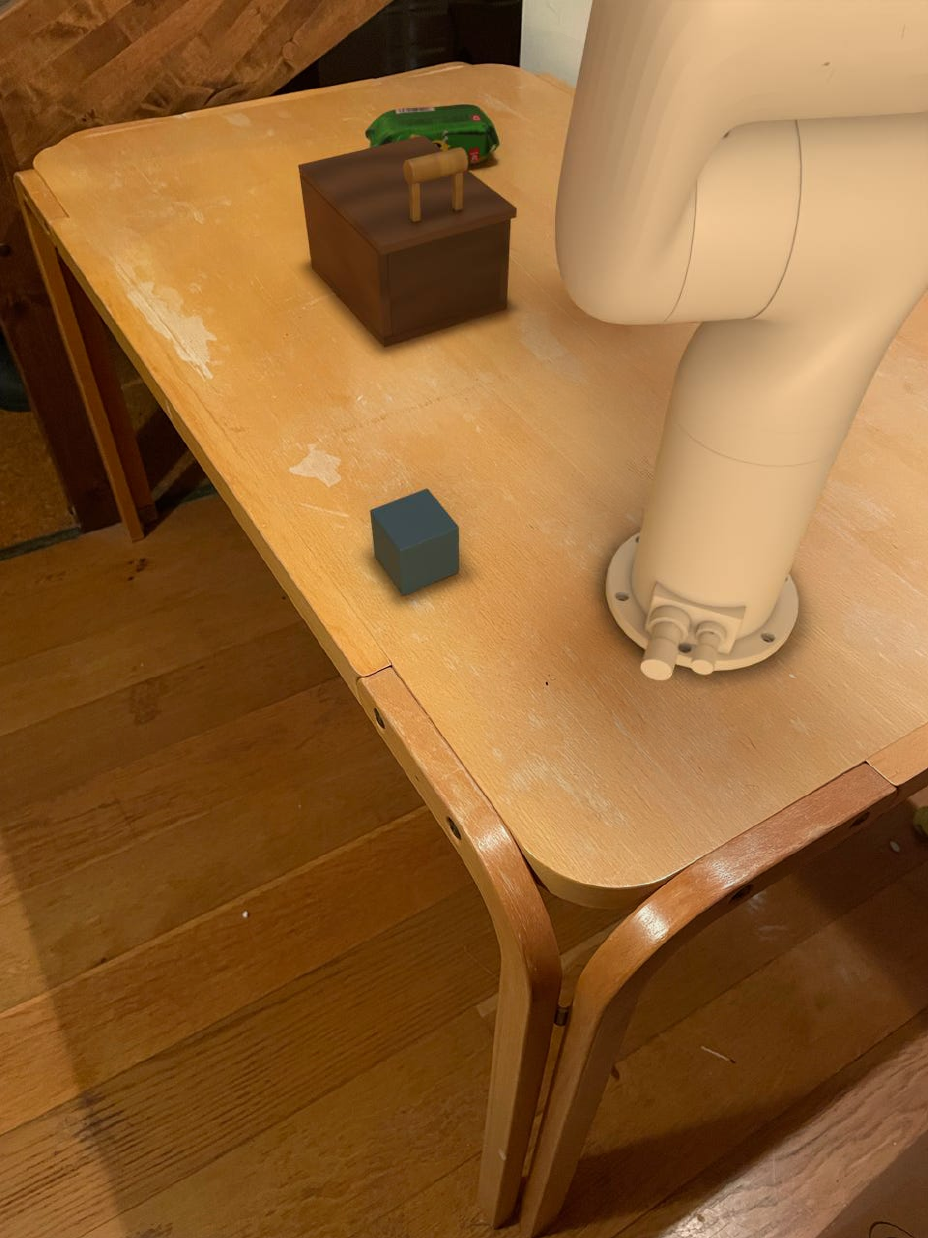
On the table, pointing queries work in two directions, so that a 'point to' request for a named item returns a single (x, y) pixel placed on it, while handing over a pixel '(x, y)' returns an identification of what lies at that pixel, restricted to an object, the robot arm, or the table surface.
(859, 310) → the robot arm
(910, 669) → the table surface
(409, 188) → the lid
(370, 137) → the snack package
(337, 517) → the table surface
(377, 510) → the block
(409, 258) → the chest
